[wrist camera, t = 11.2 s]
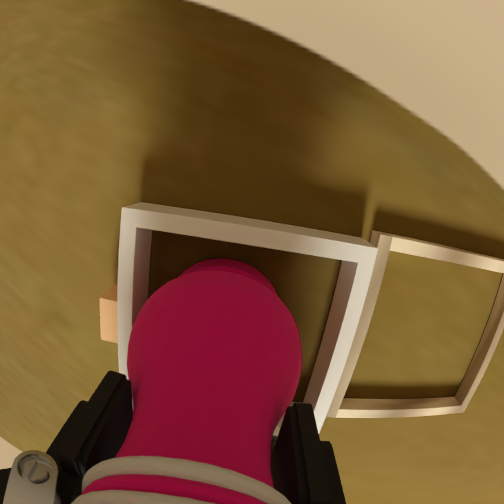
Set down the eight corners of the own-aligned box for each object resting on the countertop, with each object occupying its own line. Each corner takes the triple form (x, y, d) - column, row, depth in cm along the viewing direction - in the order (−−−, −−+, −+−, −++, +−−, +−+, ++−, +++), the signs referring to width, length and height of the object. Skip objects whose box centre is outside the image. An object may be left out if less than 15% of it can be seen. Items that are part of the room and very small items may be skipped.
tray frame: (512, 261, 16) (523, 266, 15) (456, 403, 19) (463, 412, 18) (372, 230, 16) (380, 234, 15) (321, 405, 19) (324, 416, 18)
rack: (361, 237, 16) (378, 248, 14) (277, 496, 21) (278, 518, 19) (123, 199, 16) (103, 204, 14) (131, 472, 21) (123, 492, 19)
